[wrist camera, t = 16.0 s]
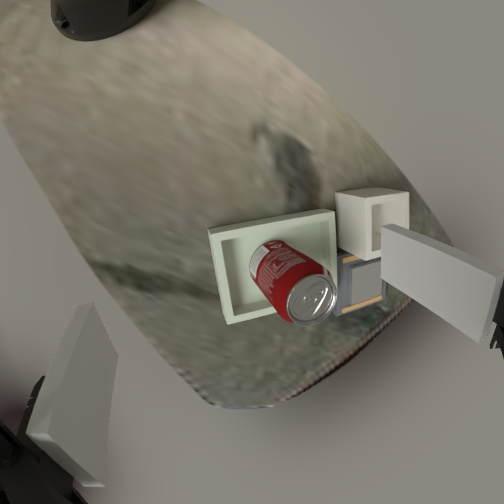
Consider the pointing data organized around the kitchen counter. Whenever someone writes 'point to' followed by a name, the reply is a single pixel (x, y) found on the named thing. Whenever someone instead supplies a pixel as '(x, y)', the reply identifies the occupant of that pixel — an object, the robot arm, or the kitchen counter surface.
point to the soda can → (293, 283)
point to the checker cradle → (342, 303)
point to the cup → (368, 218)
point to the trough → (249, 239)
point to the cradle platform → (364, 281)
